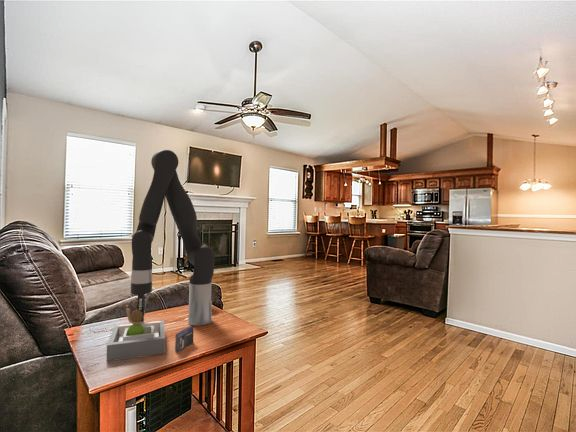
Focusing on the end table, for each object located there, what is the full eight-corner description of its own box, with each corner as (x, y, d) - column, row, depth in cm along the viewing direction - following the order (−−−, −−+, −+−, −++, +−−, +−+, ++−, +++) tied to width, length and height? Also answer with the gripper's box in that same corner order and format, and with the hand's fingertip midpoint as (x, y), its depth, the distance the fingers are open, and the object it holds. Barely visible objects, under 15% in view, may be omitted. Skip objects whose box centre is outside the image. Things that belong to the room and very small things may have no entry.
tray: (163, 330, 122) (163, 320, 122) (164, 348, 106) (164, 336, 106) (115, 336, 115) (115, 325, 115) (108, 355, 99) (109, 343, 100)
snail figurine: (129, 335, 114) (130, 303, 114) (146, 336, 113) (147, 303, 113) (121, 341, 108) (122, 307, 108) (138, 342, 108) (139, 308, 108)
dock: (163, 333, 120) (164, 321, 120) (164, 353, 103) (165, 338, 103) (114, 339, 113) (114, 326, 113) (106, 361, 97) (106, 345, 97)
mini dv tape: (179, 352, 104) (179, 334, 104) (175, 351, 105) (175, 334, 105) (193, 343, 112) (193, 326, 112) (189, 342, 113) (190, 326, 113)
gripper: (151, 283, 116) (150, 330, 116) (152, 277, 128) (151, 318, 128) (129, 285, 113) (128, 332, 113) (132, 278, 125) (131, 320, 125)
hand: (140, 325), depth 120 cm, fingers closed
